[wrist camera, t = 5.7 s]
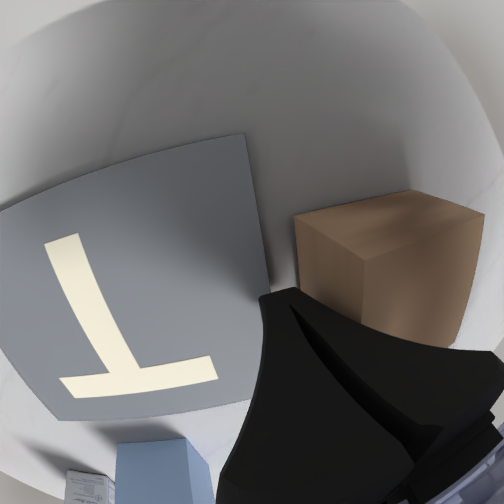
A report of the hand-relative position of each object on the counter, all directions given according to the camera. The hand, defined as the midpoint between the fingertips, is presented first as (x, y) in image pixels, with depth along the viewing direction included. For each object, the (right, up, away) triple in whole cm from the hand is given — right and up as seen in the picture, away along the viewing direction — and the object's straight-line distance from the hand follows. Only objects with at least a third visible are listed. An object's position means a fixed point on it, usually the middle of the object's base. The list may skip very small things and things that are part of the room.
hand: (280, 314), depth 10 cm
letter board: (-7, -1, +1) cm, 7 cm away
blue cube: (-7, -12, +5) cm, 15 cm away
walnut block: (+4, +1, +2) cm, 4 cm away
